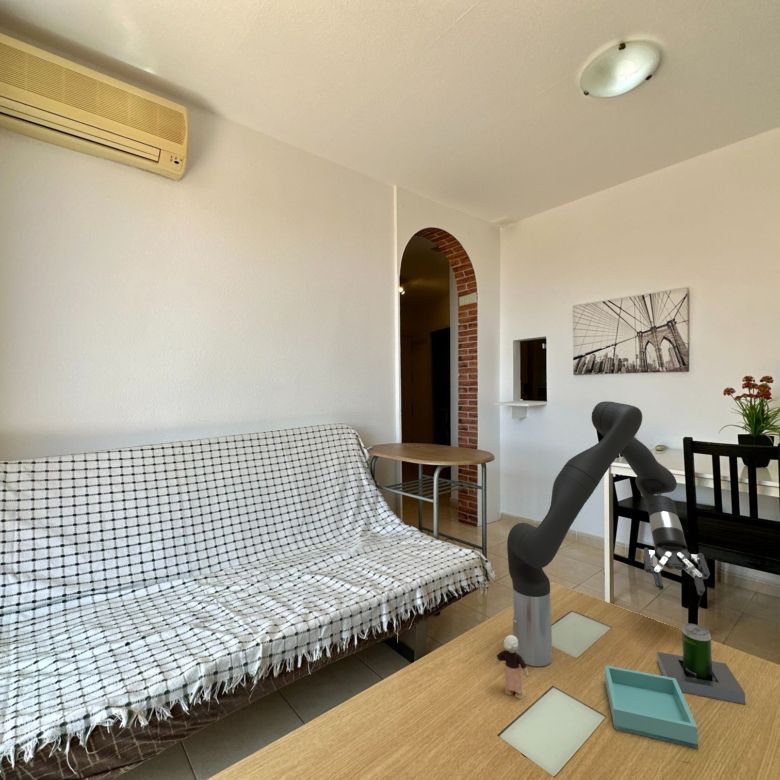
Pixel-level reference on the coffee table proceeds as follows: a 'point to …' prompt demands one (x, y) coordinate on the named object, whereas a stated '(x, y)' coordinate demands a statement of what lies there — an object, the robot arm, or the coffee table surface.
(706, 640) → the beer can
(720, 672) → the gray rectangular block
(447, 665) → the coffee table surface
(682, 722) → the tray
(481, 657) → the coffee table surface
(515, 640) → the grandmother figurine
